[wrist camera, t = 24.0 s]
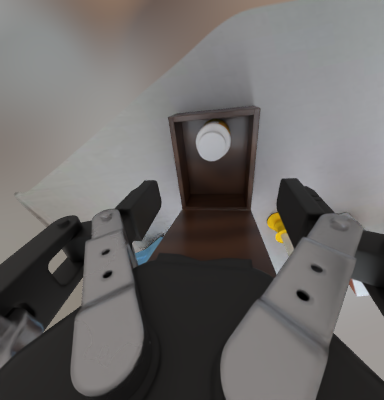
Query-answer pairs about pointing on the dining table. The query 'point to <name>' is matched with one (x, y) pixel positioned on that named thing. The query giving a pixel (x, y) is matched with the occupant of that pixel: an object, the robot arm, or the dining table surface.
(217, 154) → the supplement bottle
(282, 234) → the candle
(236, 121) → the chest
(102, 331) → the robot arm
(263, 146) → the dining table surface
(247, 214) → the lid
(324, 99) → the dining table surface
